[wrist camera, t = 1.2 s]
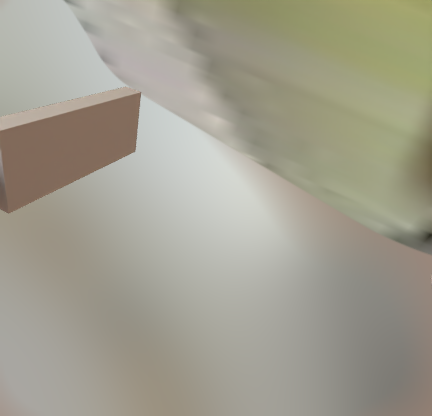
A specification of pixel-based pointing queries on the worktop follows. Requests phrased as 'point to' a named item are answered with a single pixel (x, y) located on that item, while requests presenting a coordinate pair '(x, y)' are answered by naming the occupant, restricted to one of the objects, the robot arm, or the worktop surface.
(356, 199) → the worktop surface
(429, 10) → the worktop surface
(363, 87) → the worktop surface
